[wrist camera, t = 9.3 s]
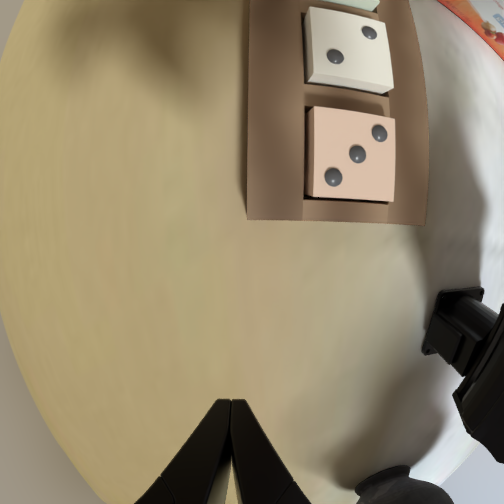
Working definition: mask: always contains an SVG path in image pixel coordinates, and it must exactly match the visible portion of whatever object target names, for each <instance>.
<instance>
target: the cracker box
mask: <svg viewBox="0 0 504 504" xmlns="http://www.w3.org/2000/svg"><path fill="white" fill-rule="evenodd" d="M437 1H439V2H440V3H442V4H443V5H444V6H446V7H447V8H448V9H450V10H451V11H452V12H453V13H455V14H456V15H457V16H458V17H459V18H461V19H462V20H463V21H464V22H465V23H466V24H468V25H469V26H470V27H471V28H472V29H473V30H474V31H475V32H476V33H477V34H478V35H480V36H481V37H482V38H483V39H484V40H485V41H486V42H487V43H488V44H489V45H490V46H491V47H492V48H493V49H494V51H495V52H496V53H497V54H498V55H499V56H500V57H501V58H502V59H503V60H504V0H437Z"/></svg>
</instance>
